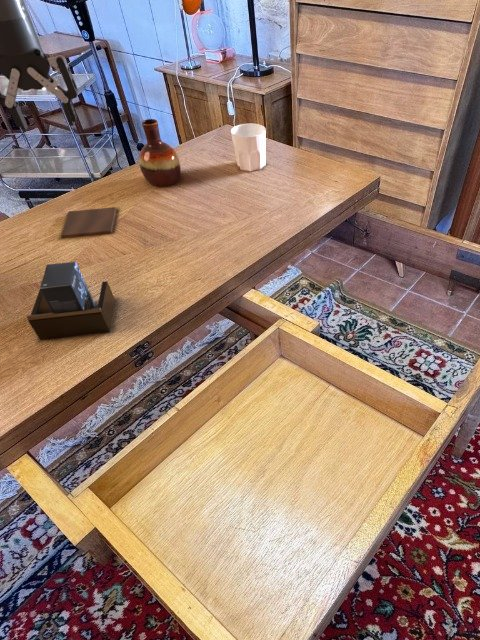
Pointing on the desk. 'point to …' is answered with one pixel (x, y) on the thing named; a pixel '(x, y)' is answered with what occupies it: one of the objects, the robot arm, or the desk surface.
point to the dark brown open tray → (72, 318)
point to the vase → (158, 158)
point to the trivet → (89, 222)
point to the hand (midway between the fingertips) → (48, 126)
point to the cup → (249, 146)
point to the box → (65, 288)
